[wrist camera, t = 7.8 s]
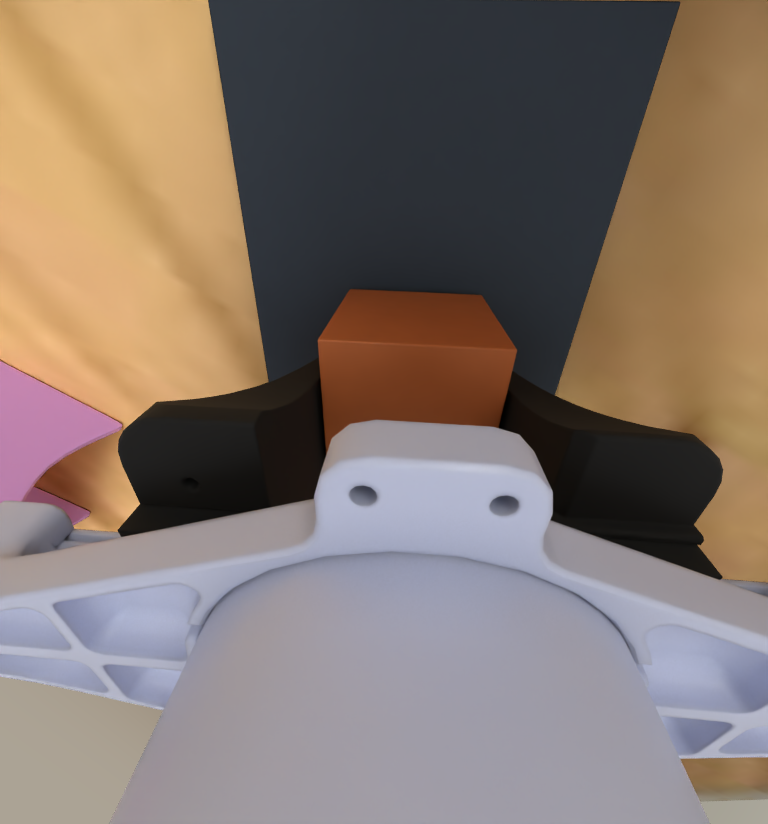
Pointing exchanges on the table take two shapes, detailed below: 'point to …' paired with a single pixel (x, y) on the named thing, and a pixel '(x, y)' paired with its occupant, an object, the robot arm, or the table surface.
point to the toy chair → (41, 436)
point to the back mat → (432, 154)
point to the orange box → (413, 360)
